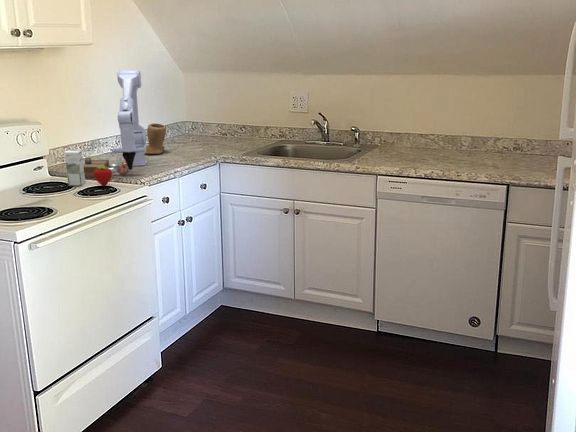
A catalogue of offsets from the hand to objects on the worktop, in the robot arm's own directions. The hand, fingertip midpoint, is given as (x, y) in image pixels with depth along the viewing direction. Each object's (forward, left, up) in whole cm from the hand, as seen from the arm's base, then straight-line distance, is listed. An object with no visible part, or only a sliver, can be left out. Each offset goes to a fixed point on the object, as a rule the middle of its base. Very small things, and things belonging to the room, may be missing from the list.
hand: (130, 169), depth 283 cm
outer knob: (0, -8, -2) cm, 8 cm away
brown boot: (-49, +6, -3) cm, 49 cm away
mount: (-3, -16, -3) cm, 16 cm away
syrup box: (+14, -20, -3) cm, 25 cm away
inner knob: (-7, -8, -2) cm, 11 cm away
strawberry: (+19, -8, -3) cm, 21 cm away
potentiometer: (-3, -19, +2) cm, 19 cm away
